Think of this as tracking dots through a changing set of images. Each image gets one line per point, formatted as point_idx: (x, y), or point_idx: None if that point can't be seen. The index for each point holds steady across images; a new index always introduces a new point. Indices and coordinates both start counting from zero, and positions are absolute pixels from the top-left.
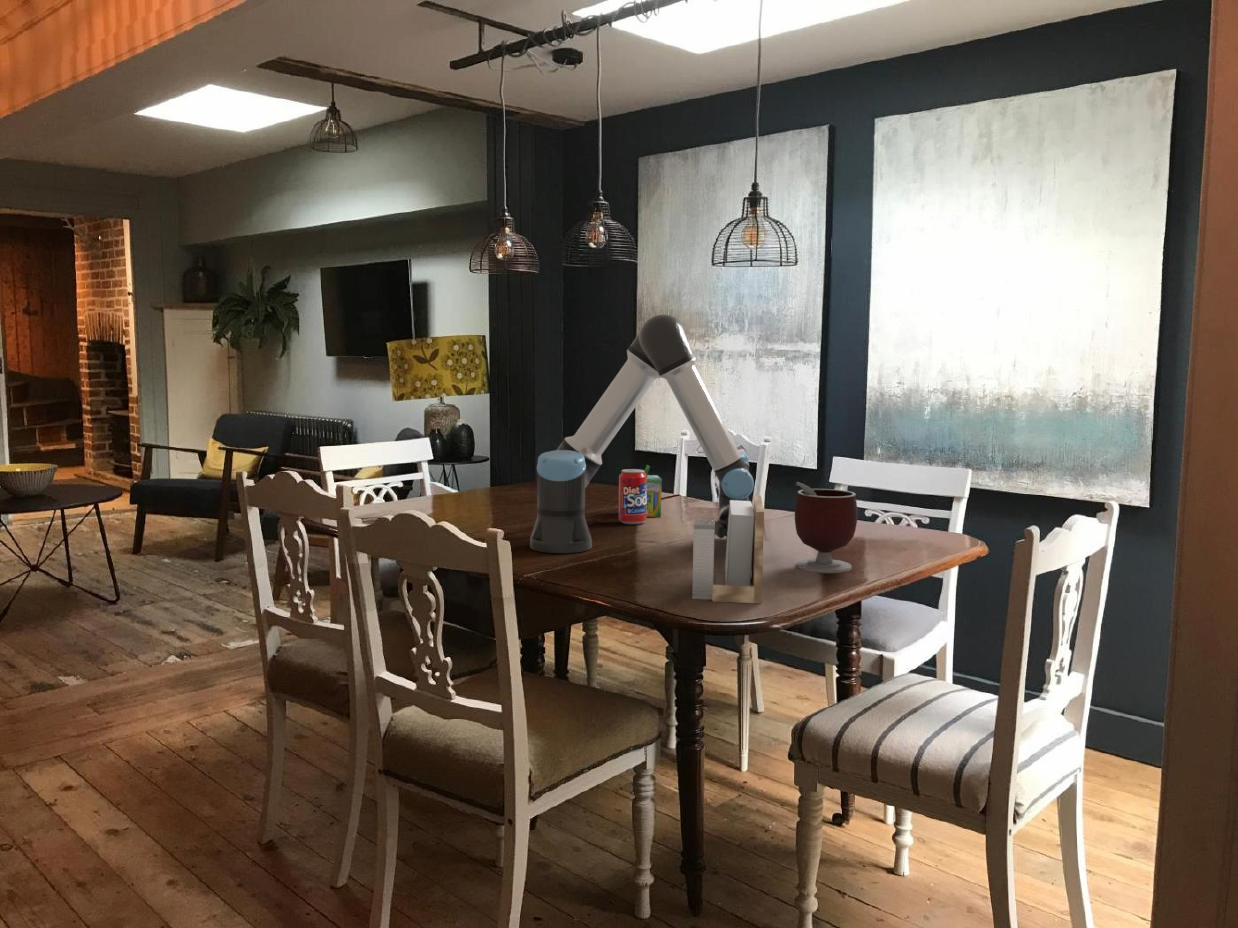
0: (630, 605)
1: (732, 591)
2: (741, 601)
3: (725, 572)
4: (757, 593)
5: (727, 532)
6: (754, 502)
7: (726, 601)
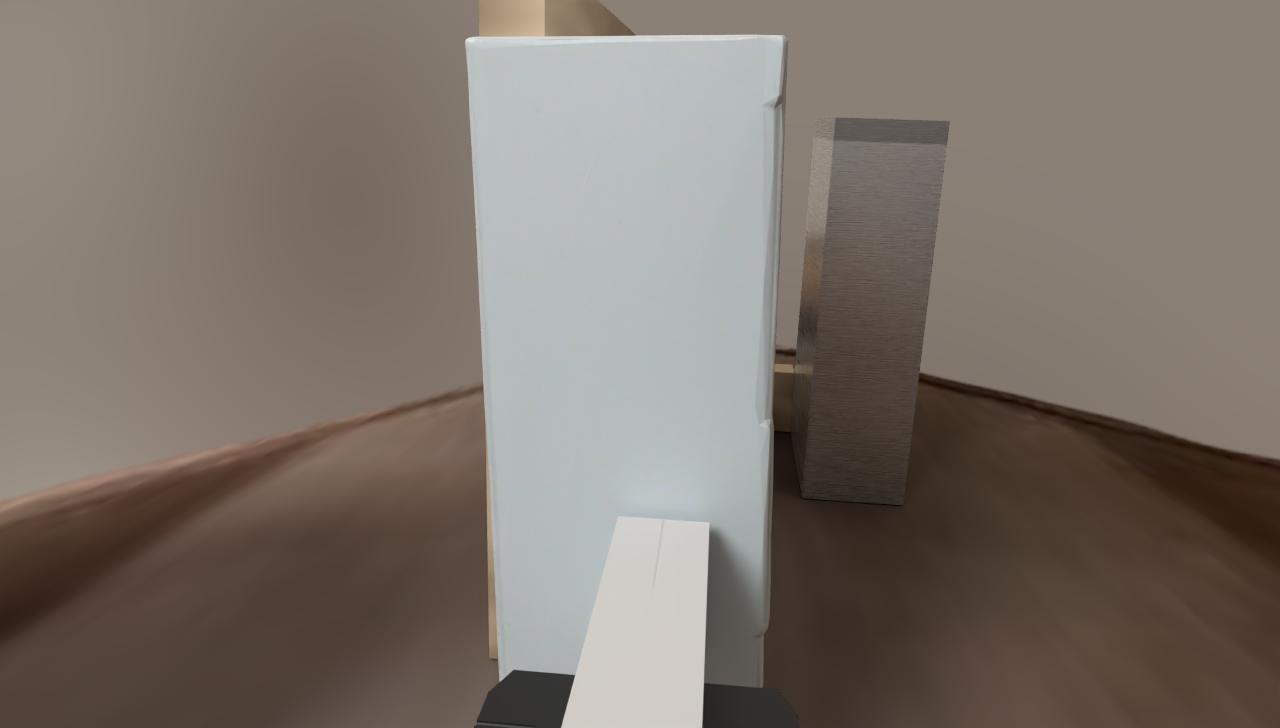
0: (1067, 408)
1: None
2: None
3: None
4: None
5: (783, 712)
6: (595, 13)
7: None
